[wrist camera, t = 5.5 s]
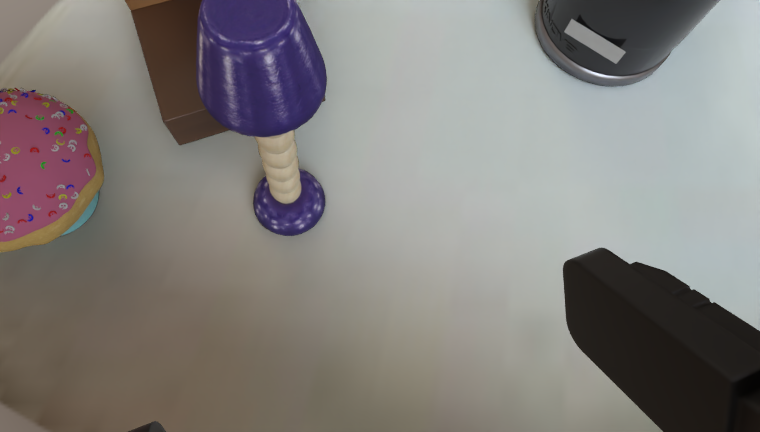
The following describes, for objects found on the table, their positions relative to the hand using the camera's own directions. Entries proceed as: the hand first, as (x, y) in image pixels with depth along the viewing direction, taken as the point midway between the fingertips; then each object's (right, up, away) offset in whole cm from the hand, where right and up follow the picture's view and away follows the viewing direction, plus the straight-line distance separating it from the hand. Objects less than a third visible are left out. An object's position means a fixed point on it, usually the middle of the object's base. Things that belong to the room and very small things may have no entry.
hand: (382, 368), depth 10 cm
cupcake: (-19, +4, +21) cm, 28 cm away
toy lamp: (-5, +4, +22) cm, 22 cm away
